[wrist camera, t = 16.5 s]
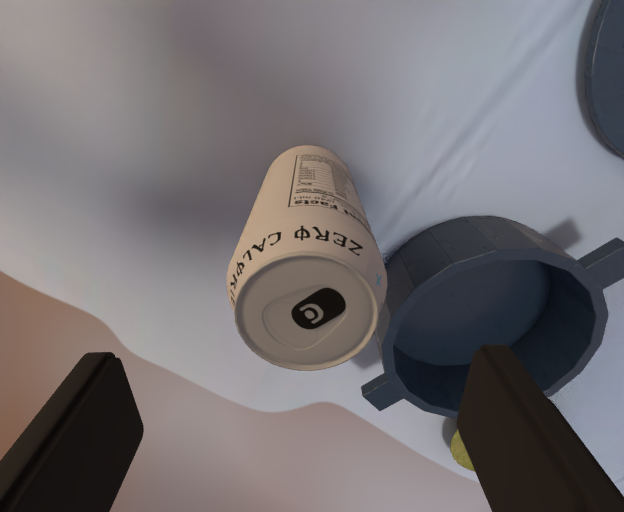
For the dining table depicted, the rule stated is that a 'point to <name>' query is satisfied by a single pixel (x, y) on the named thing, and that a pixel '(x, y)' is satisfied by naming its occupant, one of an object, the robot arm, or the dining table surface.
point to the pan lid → (607, 74)
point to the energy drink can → (307, 266)
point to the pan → (487, 309)
